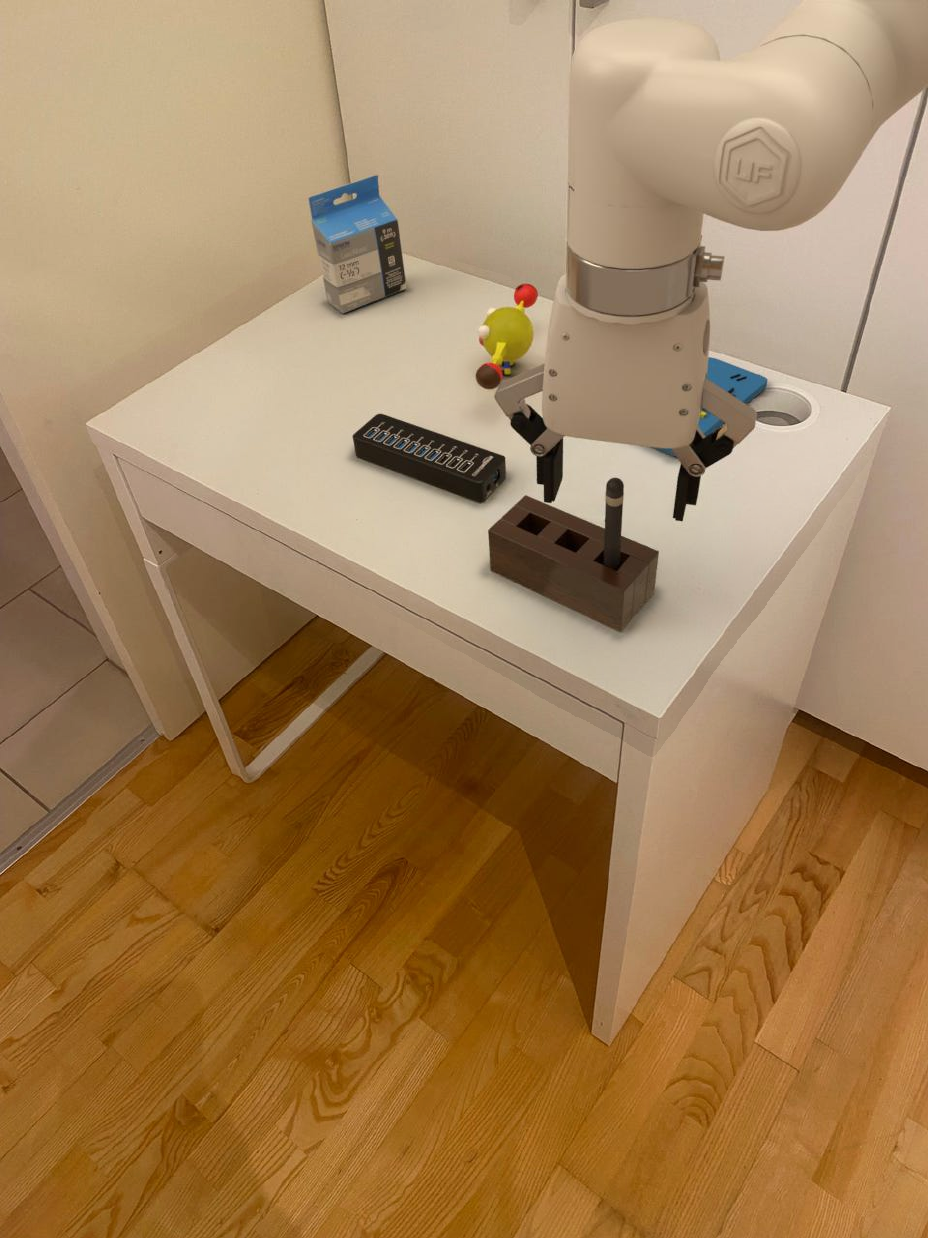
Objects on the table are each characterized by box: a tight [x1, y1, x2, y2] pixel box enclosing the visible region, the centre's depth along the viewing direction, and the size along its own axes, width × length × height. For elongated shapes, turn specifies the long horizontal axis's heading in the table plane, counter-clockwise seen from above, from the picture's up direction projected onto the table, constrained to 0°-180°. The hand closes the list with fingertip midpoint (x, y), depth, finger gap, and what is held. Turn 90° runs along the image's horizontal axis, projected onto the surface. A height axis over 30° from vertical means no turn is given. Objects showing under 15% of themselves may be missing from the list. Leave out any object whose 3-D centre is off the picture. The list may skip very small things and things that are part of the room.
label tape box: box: [308, 174, 407, 314], centre depth 107 cm, size 9×4×12 cm, turn 124°
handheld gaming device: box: [654, 356, 768, 458], centre depth 92 cm, size 8×1×15 cm
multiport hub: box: [352, 413, 507, 504], centre depth 88 cm, size 4×14×2 cm, turn 56°
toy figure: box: [475, 283, 539, 390], centre depth 97 cm, size 18×6×7 cm, turn 164°
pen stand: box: [487, 494, 660, 633], centre depth 76 cm, size 5×12×4 cm, turn 53°
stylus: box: [604, 477, 625, 571], centre depth 70 cm, size 1×1×13 cm
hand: (615, 499), depth 68 cm, fingers open, 8 cm apart
